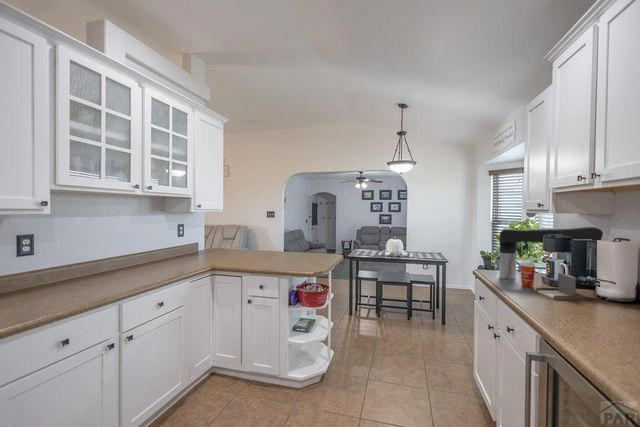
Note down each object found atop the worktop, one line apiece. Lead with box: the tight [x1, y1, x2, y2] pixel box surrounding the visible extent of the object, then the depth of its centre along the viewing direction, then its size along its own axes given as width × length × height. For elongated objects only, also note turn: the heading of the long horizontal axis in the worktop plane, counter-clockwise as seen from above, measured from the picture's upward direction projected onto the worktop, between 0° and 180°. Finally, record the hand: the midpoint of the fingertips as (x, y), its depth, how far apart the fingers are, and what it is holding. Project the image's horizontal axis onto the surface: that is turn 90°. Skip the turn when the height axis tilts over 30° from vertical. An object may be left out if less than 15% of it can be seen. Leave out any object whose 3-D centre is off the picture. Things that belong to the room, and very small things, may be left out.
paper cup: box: [519, 261, 536, 289], centre depth 183 cm, size 8×8×14 cm
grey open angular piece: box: [537, 272, 577, 300], centre depth 164 cm, size 12×12×11 cm
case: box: [535, 287, 587, 301], centre depth 164 cm, size 16×15×2 cm
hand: (572, 281), depth 164 cm, fingers closed
